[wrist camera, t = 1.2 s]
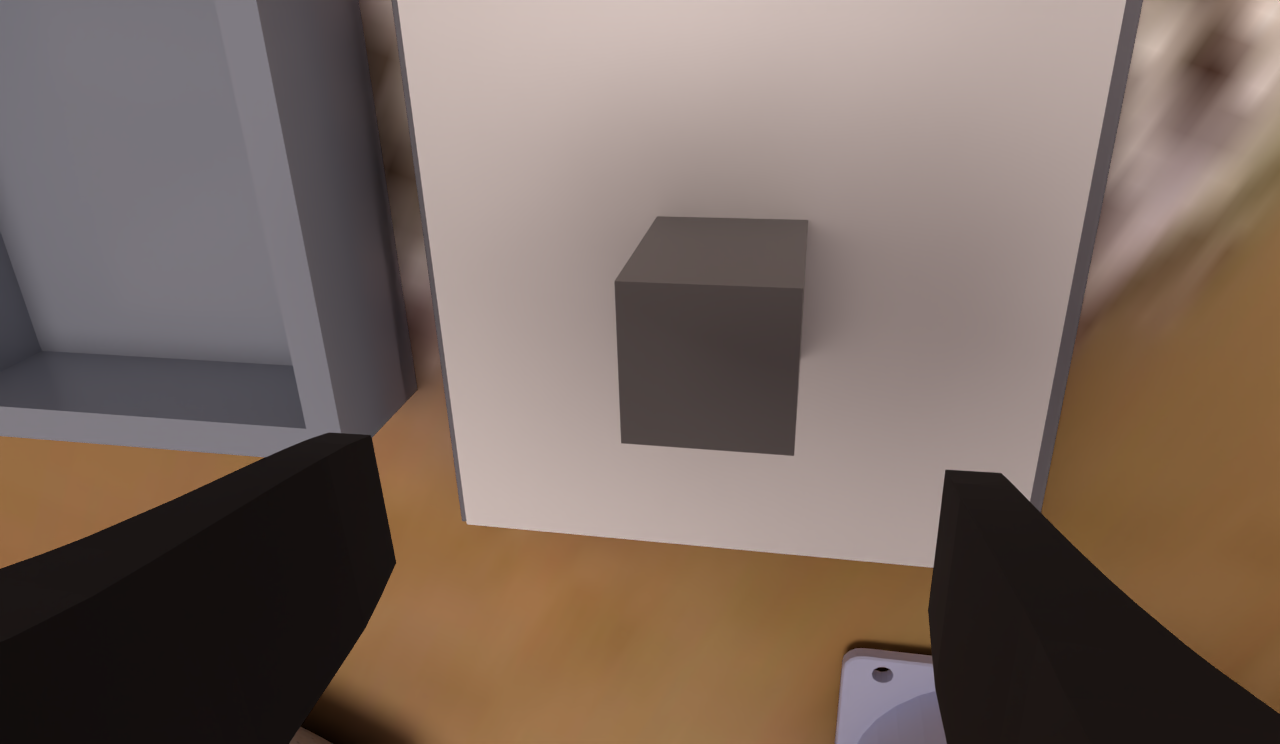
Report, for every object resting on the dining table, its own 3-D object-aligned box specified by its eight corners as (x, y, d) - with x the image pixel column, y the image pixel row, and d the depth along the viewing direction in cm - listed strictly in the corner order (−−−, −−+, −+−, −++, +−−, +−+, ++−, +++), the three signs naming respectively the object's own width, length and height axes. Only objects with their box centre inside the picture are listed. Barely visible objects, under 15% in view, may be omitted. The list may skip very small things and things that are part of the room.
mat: (1154, -108, 15) (1164, -110, 14) (1024, 560, 21) (1028, 573, 20) (392, -77, 17) (380, -79, 17) (468, 510, 23) (462, 520, 23)
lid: (1126, -75, 15) (1246, -89, 11) (1009, 553, 20) (1057, 712, 16) (408, -51, 17) (269, -54, 13) (478, 506, 23) (397, 633, 18)
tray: (351, -103, 18) (233, -118, 14) (423, 384, 22) (347, 463, 19) (-96, -82, 20) (-298, -90, 16) (54, 361, 24) (-77, 429, 21)
